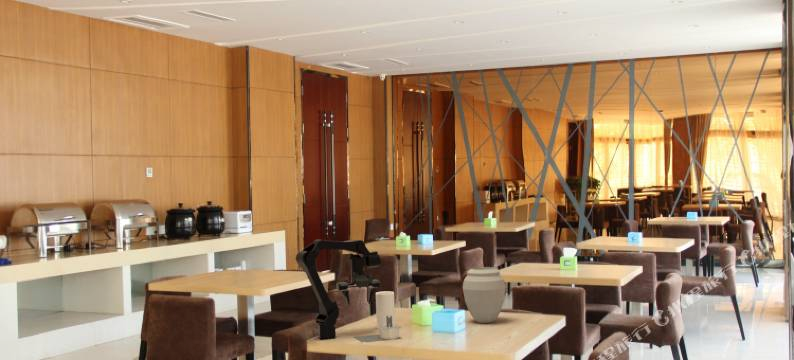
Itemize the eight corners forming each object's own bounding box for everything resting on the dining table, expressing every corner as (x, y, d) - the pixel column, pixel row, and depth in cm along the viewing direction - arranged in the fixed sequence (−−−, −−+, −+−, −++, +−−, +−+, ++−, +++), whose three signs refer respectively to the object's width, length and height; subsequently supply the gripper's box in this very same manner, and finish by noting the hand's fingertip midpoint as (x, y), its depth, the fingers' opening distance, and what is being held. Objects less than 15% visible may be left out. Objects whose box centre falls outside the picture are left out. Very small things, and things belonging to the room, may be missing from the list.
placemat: (362, 343, 328) (362, 342, 328) (353, 337, 341) (353, 337, 341) (402, 339, 333) (402, 338, 333) (391, 334, 347) (391, 333, 347)
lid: (383, 329, 331) (383, 318, 331) (378, 326, 338) (377, 315, 338) (401, 327, 334) (400, 316, 334) (395, 325, 341) (394, 314, 341)
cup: (393, 330, 356) (391, 293, 356) (375, 330, 357) (373, 293, 358) (397, 326, 364) (395, 291, 364) (379, 326, 366) (377, 291, 366)
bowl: (384, 340, 331) (383, 329, 331) (378, 337, 338) (377, 326, 338) (401, 338, 334) (401, 327, 334) (395, 335, 341) (395, 325, 341)
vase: (513, 319, 371) (511, 266, 371) (495, 326, 355) (493, 271, 355) (475, 317, 382) (473, 265, 382) (456, 324, 365) (454, 270, 365)
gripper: (341, 272, 340) (343, 309, 340) (383, 268, 346) (385, 305, 346) (334, 269, 350) (336, 305, 350) (375, 266, 357) (377, 302, 356)
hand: (359, 304), depth 350 cm, fingers open, 9 cm apart
